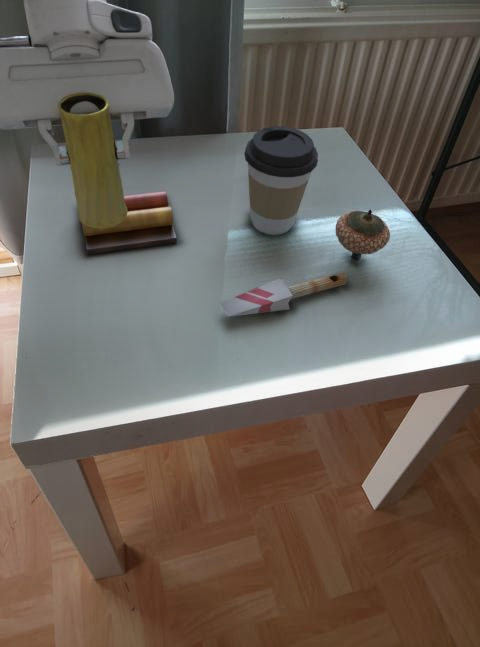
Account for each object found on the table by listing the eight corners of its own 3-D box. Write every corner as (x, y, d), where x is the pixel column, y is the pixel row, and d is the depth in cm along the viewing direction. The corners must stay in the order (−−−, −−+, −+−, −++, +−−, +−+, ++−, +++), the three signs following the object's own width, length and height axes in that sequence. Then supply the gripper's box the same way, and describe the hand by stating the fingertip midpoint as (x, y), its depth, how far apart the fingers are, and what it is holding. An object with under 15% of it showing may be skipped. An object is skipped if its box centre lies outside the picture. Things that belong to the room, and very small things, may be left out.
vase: (69, 211, 64) (42, 99, 53) (111, 194, 66) (93, 85, 56) (94, 235, 61) (71, 123, 50) (137, 217, 64) (124, 107, 53)
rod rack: (87, 254, 78) (83, 234, 75) (81, 208, 85) (76, 188, 82) (176, 242, 81) (176, 222, 78) (162, 199, 89) (161, 179, 86)
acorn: (318, 252, 82) (330, 201, 74) (356, 237, 85) (371, 186, 78) (351, 284, 78) (367, 232, 70) (390, 266, 81) (409, 215, 73)
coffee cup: (279, 195, 92) (291, 116, 80) (318, 230, 86) (336, 150, 74) (226, 213, 87) (230, 131, 76) (263, 251, 81) (274, 169, 70)
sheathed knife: (219, 292, 70) (339, 264, 77) (217, 306, 72) (335, 277, 79) (230, 311, 68) (353, 280, 75) (228, 325, 70) (348, 294, 77)
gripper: (-38, 23, 51) (-10, 163, 52) (164, 16, 55) (184, 144, 57) (-22, 52, 57) (3, 176, 58) (159, 43, 61) (178, 159, 63)
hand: (94, 160), depth 57 cm, fingers closed on vase, 5 cm apart
